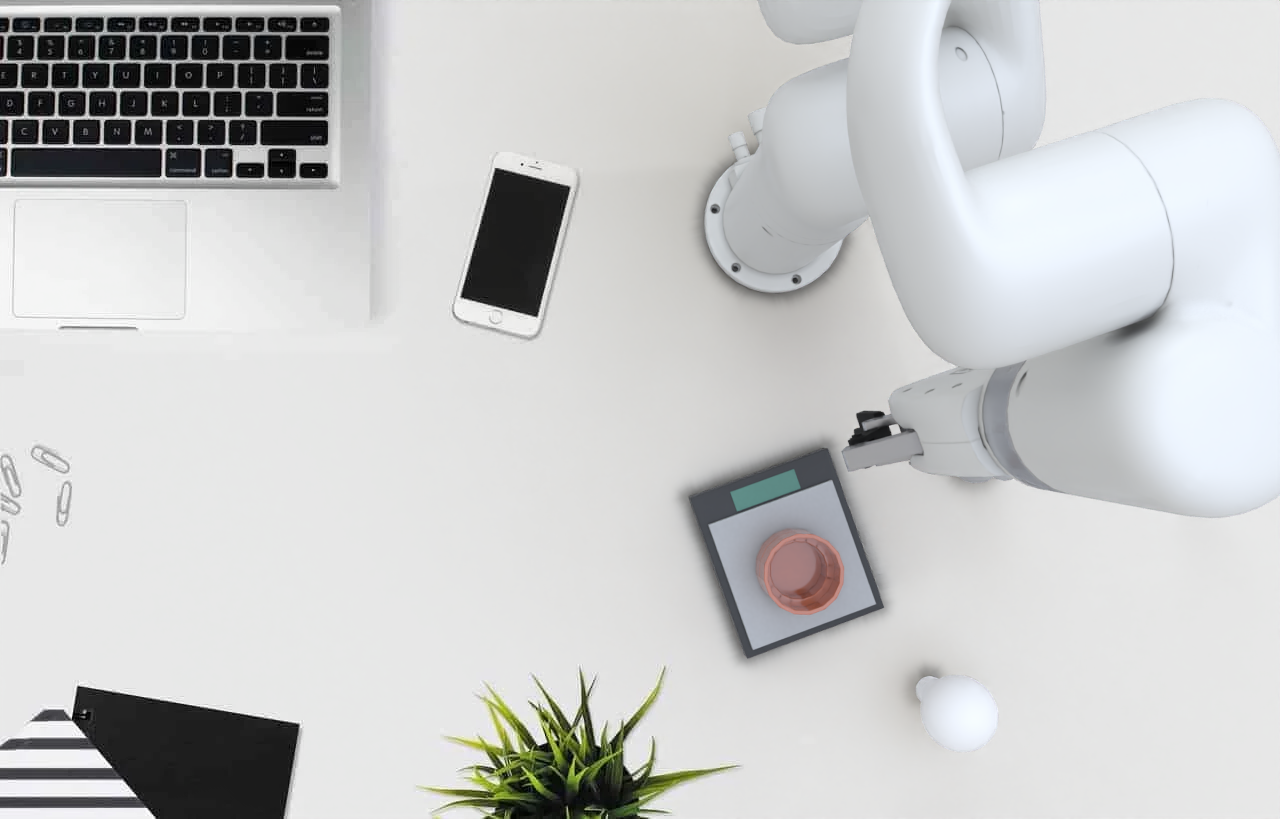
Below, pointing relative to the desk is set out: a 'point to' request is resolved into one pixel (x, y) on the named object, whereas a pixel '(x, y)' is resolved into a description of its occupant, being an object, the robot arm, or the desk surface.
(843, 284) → the desk surface
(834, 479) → the scale
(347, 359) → the desk surface
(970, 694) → the lightbulb
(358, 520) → the desk surface
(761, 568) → the bowl
